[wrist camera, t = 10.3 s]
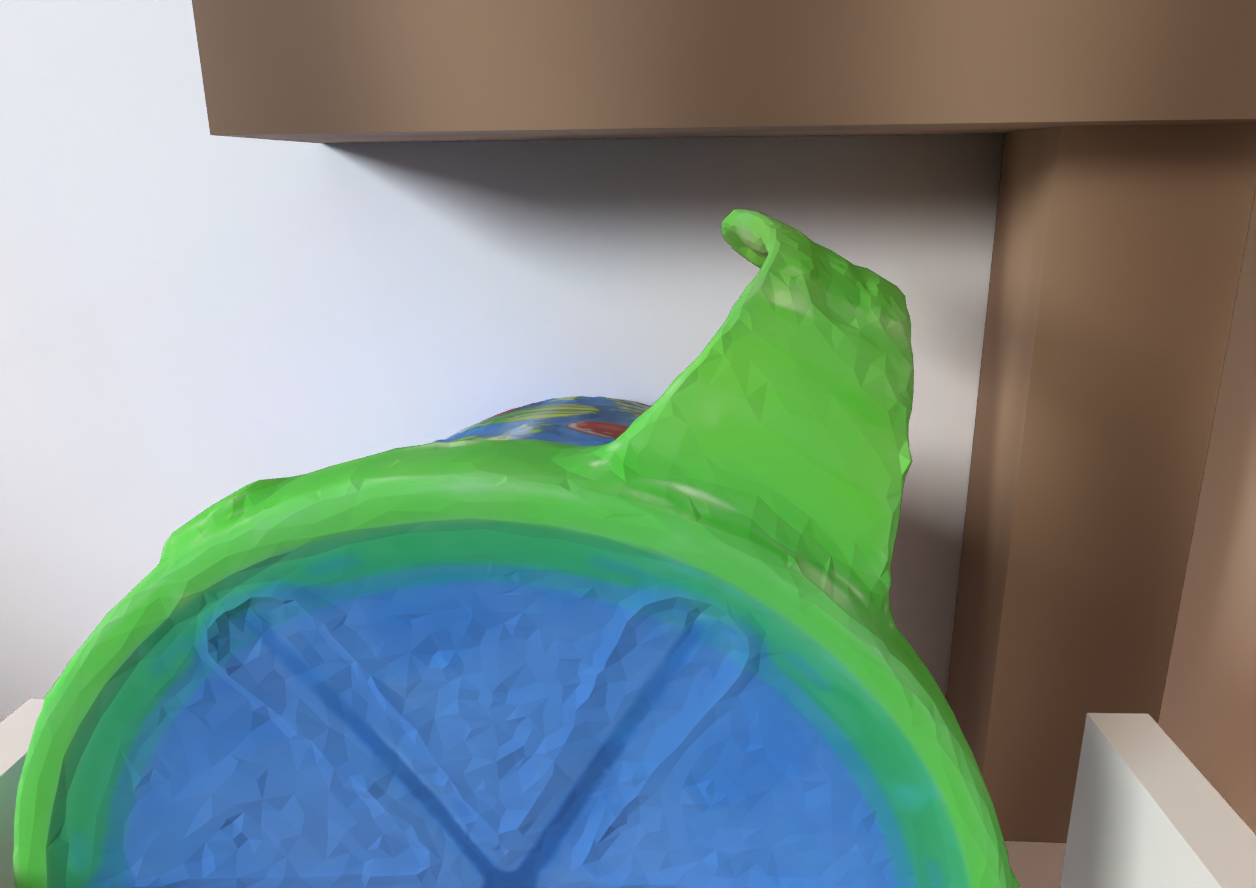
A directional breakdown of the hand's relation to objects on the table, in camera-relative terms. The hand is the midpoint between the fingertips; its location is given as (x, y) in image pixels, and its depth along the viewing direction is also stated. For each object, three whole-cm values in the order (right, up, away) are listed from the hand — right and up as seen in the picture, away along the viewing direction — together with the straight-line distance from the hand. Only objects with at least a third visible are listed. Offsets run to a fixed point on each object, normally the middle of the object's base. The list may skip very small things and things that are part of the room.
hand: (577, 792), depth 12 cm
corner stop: (+3, +5, +6) cm, 8 cm away
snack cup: (0, +2, +7) cm, 8 cm away
